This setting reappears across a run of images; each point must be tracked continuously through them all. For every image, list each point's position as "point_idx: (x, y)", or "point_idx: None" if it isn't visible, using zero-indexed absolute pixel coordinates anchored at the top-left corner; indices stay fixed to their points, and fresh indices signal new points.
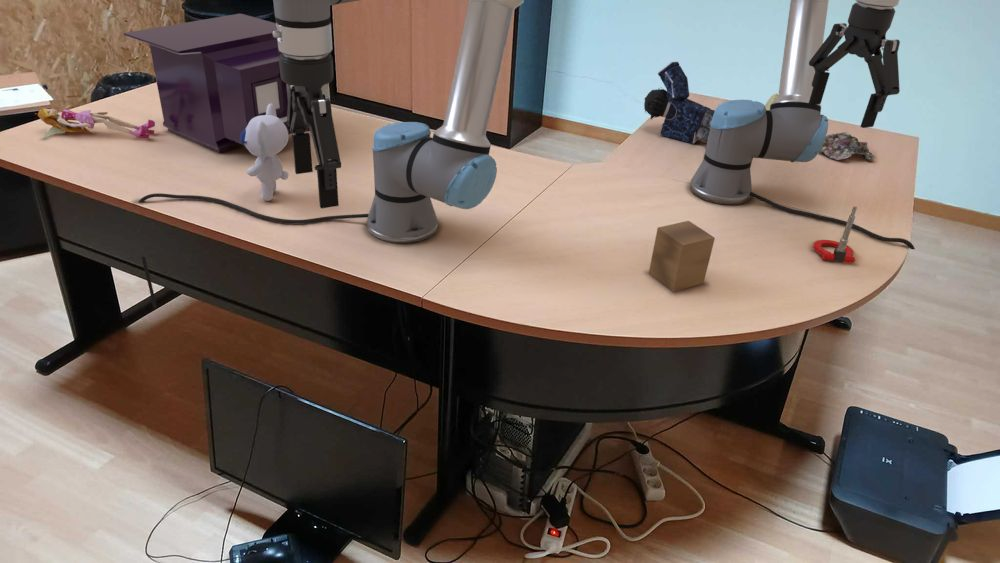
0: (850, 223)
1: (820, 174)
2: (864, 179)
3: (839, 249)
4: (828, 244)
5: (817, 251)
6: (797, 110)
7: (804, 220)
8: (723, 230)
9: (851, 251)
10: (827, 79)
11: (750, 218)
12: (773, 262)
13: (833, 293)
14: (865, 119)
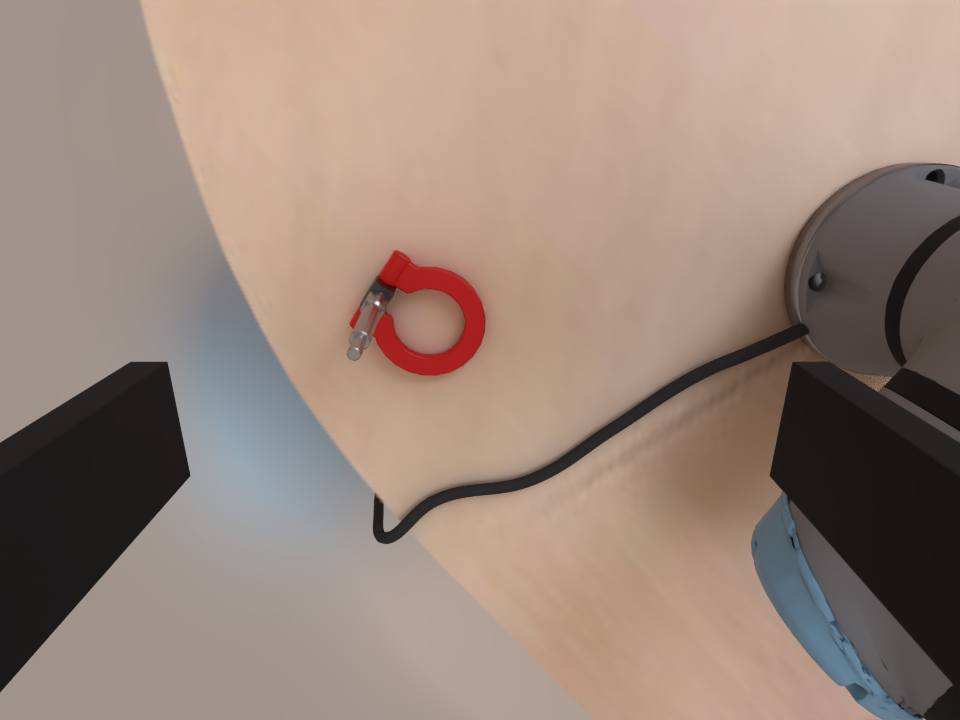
0: (355, 325)
1: None
2: (717, 713)
3: (372, 290)
4: (462, 336)
5: (436, 268)
6: None
7: (612, 391)
8: (676, 73)
9: (395, 357)
10: (950, 670)
11: (697, 235)
12: (439, 83)
13: (233, 130)
14: (86, 394)
